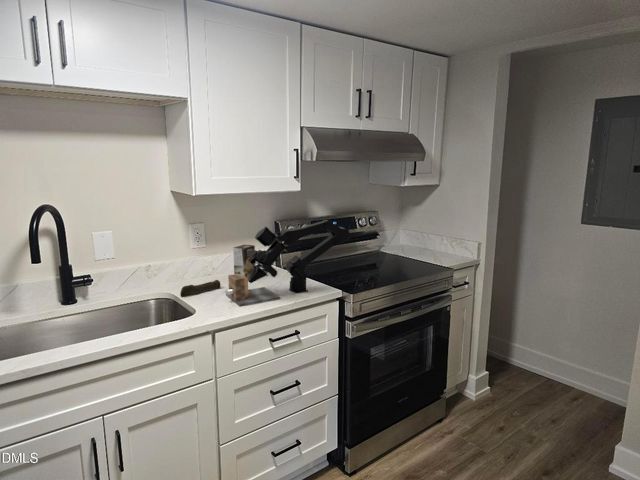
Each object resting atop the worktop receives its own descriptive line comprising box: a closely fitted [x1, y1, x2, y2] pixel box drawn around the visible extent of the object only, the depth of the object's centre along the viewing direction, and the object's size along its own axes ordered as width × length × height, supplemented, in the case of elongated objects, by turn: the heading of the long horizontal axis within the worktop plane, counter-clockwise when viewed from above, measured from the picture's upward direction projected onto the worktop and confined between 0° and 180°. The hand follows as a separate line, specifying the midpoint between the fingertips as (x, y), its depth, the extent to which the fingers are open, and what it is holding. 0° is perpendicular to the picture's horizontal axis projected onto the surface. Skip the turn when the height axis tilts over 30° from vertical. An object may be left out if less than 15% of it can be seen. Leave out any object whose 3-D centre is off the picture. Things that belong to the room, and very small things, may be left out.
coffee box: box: [233, 244, 256, 279], centre depth 208 cm, size 9×6×16 cm
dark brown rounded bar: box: [180, 279, 221, 298], centre depth 187 cm, size 19×4×5 cm, turn 135°
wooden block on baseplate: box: [225, 273, 281, 308], centre depth 180 cm, size 18×16×10 cm
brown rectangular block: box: [225, 276, 249, 297], centre depth 176 cm, size 9×5×8 cm, turn 121°
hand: (249, 282), depth 179 cm, fingers closed
